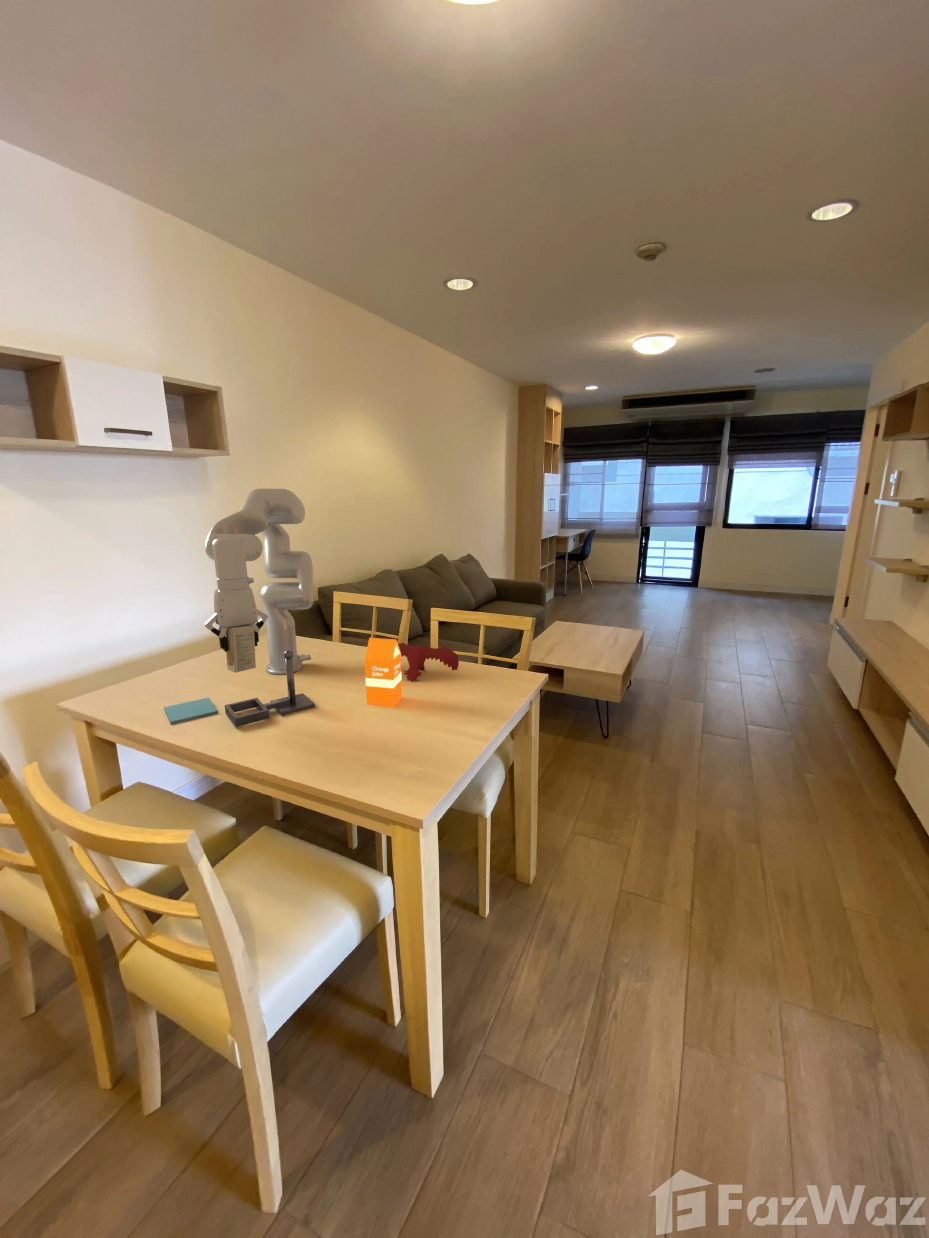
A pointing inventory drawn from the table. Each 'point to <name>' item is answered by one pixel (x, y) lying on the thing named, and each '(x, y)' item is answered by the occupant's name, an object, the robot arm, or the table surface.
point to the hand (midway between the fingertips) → (240, 647)
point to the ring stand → (280, 705)
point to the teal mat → (190, 710)
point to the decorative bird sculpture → (421, 653)
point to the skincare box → (240, 648)
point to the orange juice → (383, 672)
